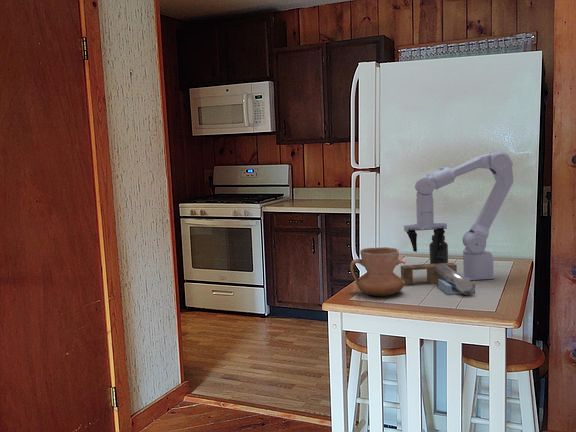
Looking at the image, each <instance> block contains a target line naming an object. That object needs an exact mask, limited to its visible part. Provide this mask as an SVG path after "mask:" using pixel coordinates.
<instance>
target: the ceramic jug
mask: <svg viewBox="0 0 576 432" xmlns="http://www.w3.org/2000/svg"><path fill="white" fill-rule="evenodd" d="M359 251H360V258H355V259H352V261H351V262H350V272H351V275H352V276H353V279H354V280H355V284H356V286H357V287H358V289H359V291H361V292H362V293H363V294H367V295H369V296H372V297H373V296H375V297H389V296H393V295H395V294H398V293H399V292H401V291H402V290H403V288H404V287H405V286H404V285H405V282H404V281H403V280H402V279H401V276H399V275H398V274H395V272H394V271H395V268H396V267H397V266H399V265H400V264H403V265H406V263H407V260H406V259H404V258H400V259H399V254H400V253H399V249H398V248H395V247H389V246H388V247H385V246H384V247H383V246H382V247H365V248H362V249H361V248H360V250H359ZM356 264H360V265H361V266H362V267H363V268H364V269H365V270H366V273H365V274H364V275H363V276H362V277H361V276H360V278H359V277H358V275H357V273H356V269H355V266H356Z"/></svg>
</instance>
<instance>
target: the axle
mask: <svg viewBox="0 0 576 432" xmlns="http://www.w3.org/2000/svg"><path fill="white" fill-rule="evenodd" d="M435 273H436V275H438V276H439V277H441V278H442V279H443V280H445V281H446V282H448V283H449V284H450V285H452V286H453V287H455V288H456V289H457V290H459V291H460V292H462V293H463V294H462V295H465V296H470V295H472V294H474V293H473V291H474V289H475V290H476V284H475V283H474V282H472V280H468V279H466V278H465V277H463V276H462V275H460V274H461V273H459V272H458V271H457V272H456V271H454V270H453V269H451V268H450V267H448V266H447V265H445V264H443V263H441V264H438V265H437V266H436V268H435ZM474 284H475V285H474Z"/></svg>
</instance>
